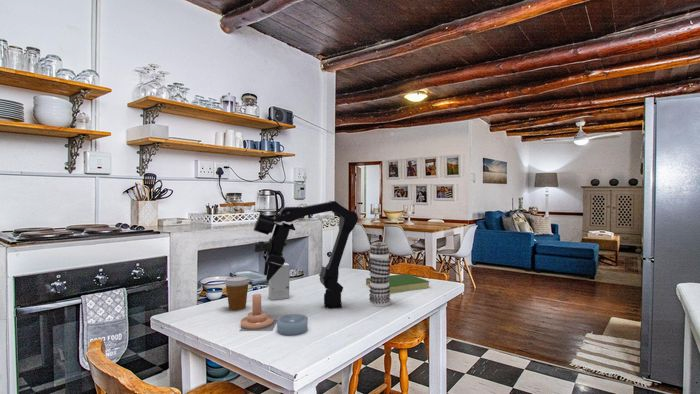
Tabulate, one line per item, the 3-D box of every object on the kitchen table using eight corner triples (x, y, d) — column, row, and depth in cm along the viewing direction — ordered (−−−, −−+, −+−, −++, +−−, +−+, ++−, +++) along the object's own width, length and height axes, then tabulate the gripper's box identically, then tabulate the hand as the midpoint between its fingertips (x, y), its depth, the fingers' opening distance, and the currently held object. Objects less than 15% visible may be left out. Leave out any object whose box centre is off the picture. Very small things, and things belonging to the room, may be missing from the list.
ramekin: (308, 325, 130) (308, 313, 130) (306, 336, 120) (306, 323, 120) (279, 325, 130) (279, 313, 130) (274, 336, 120) (274, 323, 120)
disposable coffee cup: (229, 305, 154) (229, 275, 154) (252, 305, 154) (252, 275, 154) (221, 312, 145) (220, 281, 145) (245, 312, 144) (245, 281, 144)
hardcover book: (407, 280, 197) (407, 273, 197) (429, 289, 180) (429, 281, 180) (364, 286, 186) (364, 278, 186) (384, 295, 169) (384, 287, 169)
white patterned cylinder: (370, 299, 161) (369, 240, 161) (391, 300, 159) (391, 241, 159) (366, 305, 152) (366, 243, 152) (389, 306, 150) (389, 244, 150)
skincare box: (270, 300, 160) (270, 265, 160) (268, 297, 166) (267, 263, 166) (290, 298, 164) (290, 264, 163) (287, 294, 169) (286, 261, 169)
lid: (275, 318, 136) (275, 291, 136) (270, 329, 125) (269, 299, 125) (245, 319, 136) (245, 291, 136) (236, 330, 125) (236, 300, 125)
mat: (278, 320, 135) (278, 319, 135) (272, 331, 124) (272, 330, 124) (247, 320, 135) (247, 319, 135) (239, 332, 124) (239, 331, 124)
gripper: (256, 230, 152) (244, 267, 150) (261, 234, 134) (246, 277, 132) (283, 237, 155) (271, 274, 153) (290, 243, 137) (277, 285, 136)
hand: (266, 277), depth 144 cm, fingers open, 9 cm apart
